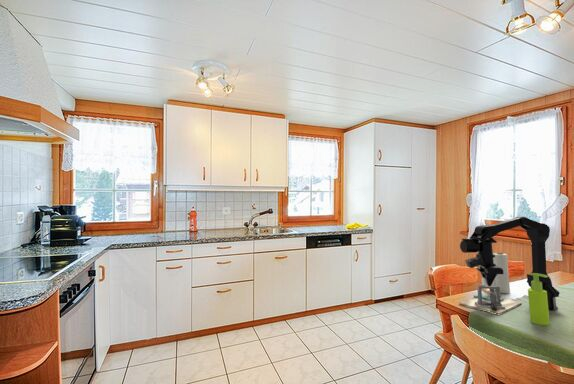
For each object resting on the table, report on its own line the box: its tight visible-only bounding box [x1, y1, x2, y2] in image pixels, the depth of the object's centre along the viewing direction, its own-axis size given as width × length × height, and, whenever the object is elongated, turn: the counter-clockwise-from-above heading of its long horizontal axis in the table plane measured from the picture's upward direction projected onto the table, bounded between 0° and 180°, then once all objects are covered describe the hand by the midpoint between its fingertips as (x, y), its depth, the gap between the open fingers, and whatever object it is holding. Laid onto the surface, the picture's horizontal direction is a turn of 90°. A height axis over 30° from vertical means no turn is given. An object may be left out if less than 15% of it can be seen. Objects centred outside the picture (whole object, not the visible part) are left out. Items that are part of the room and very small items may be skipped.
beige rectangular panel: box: [458, 293, 523, 315], centre depth 135 cm, size 17×24×2 cm
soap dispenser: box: [527, 272, 551, 326], centre depth 113 cm, size 6×7×20 cm
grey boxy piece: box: [476, 276, 502, 306], centre depth 130 cm, size 4×8×12 cm, turn 76°
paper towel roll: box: [493, 252, 511, 294], centre depth 155 cm, size 7×6×21 cm
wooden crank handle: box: [481, 289, 497, 311], centre depth 135 cm, size 6×23×7 cm, turn 145°
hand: (488, 285), depth 131 cm, fingers closed on grey boxy piece, 2 cm apart
